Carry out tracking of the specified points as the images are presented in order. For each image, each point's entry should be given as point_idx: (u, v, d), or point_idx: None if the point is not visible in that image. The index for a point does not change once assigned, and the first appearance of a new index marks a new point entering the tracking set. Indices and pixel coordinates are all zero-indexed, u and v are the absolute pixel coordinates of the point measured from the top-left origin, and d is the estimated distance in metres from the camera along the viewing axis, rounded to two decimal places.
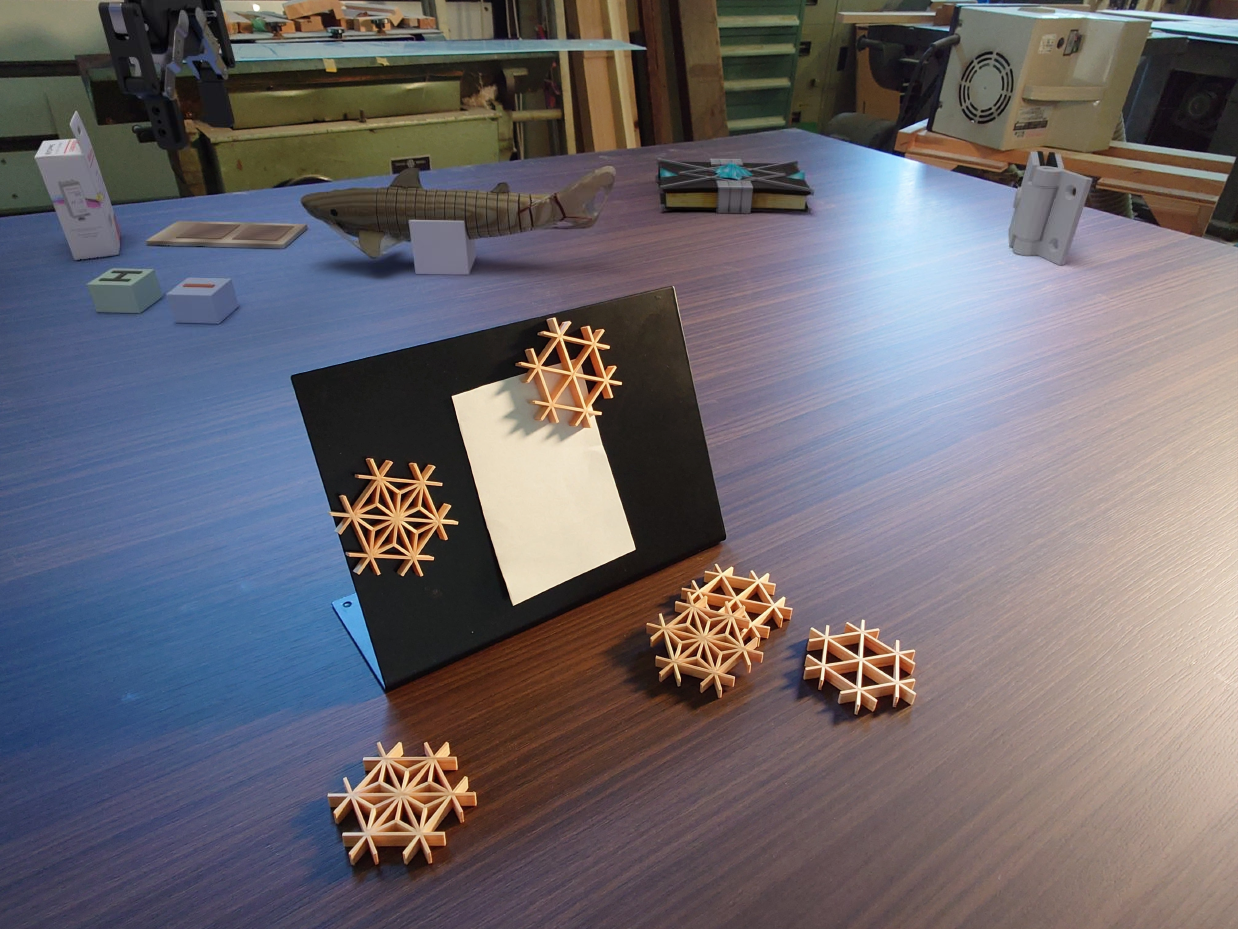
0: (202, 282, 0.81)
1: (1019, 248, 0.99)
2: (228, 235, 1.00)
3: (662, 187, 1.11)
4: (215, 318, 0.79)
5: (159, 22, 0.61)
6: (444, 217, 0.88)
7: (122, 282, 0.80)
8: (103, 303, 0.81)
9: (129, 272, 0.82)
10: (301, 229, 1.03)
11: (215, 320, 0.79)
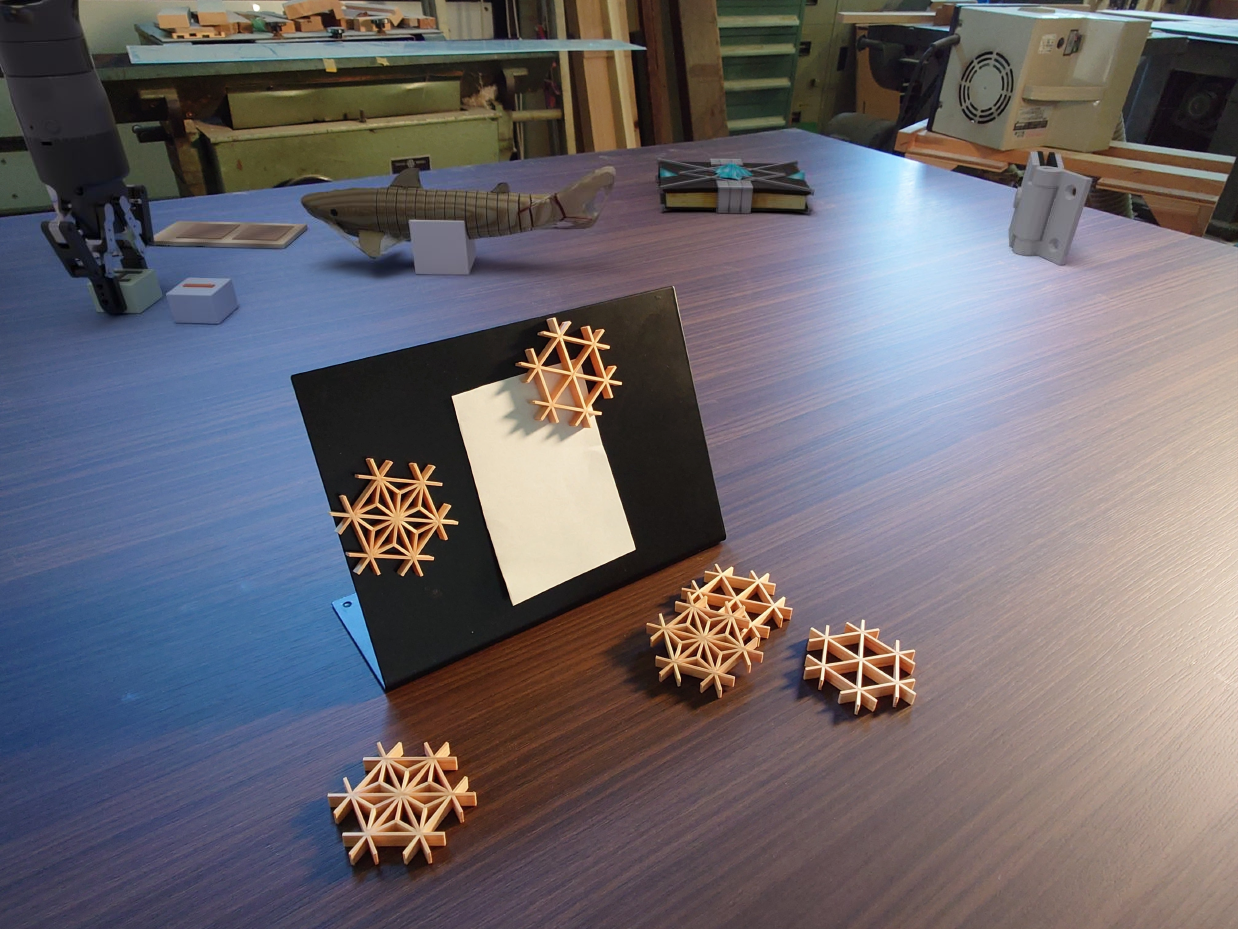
0: (202, 282, 0.81)
1: (1019, 248, 0.99)
2: (228, 235, 1.00)
3: (662, 187, 1.11)
4: (215, 318, 0.79)
5: (87, 217, 0.75)
6: (444, 217, 0.88)
7: (122, 282, 0.80)
8: None
9: (129, 272, 0.82)
10: (301, 229, 1.03)
11: (215, 320, 0.79)
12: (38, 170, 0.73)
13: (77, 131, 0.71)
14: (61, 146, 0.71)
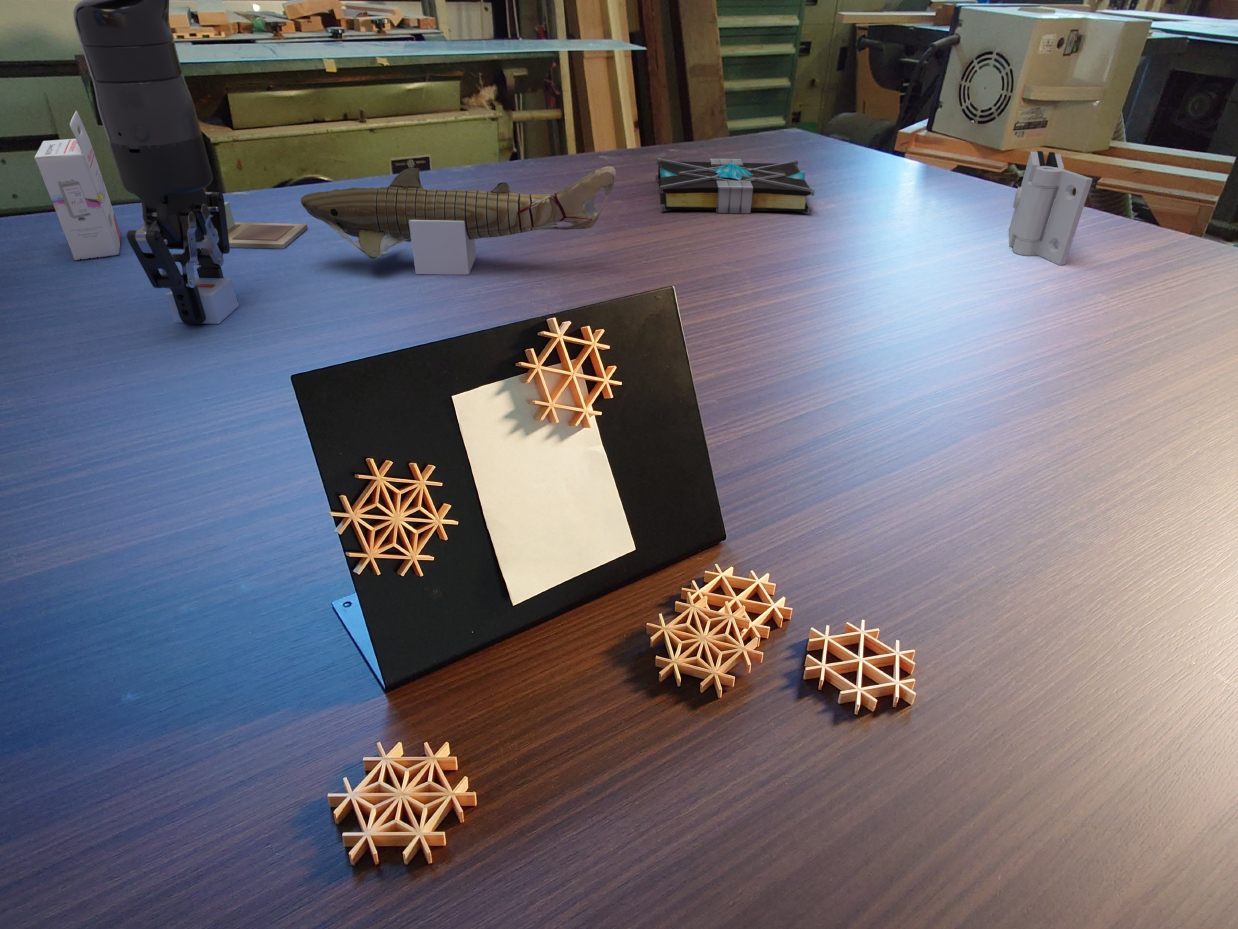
0: (202, 281, 0.81)
1: (1019, 248, 0.99)
2: (228, 235, 1.00)
3: (662, 187, 1.11)
4: (215, 318, 0.79)
5: (172, 225, 0.73)
6: (444, 217, 0.88)
7: None
8: None
9: None
10: (301, 229, 1.03)
11: (215, 320, 0.79)
12: (123, 178, 0.71)
13: (166, 138, 0.69)
14: (149, 153, 0.69)
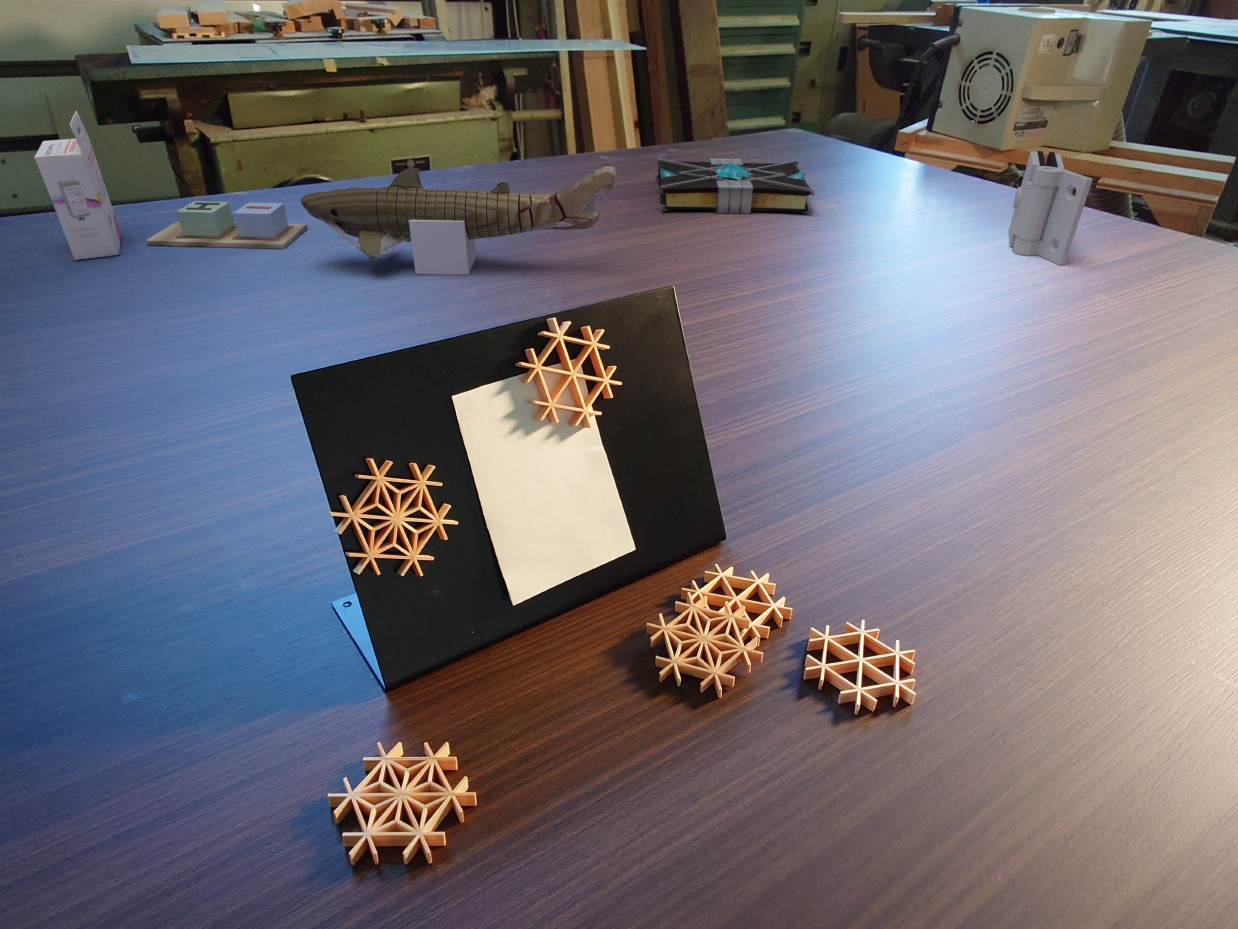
0: (260, 205, 1.00)
1: (1019, 248, 0.99)
2: (228, 235, 1.00)
3: (662, 187, 1.11)
4: (272, 233, 0.99)
5: None
6: (444, 217, 0.88)
7: (205, 210, 0.98)
8: (189, 228, 0.99)
9: (209, 203, 1.00)
10: (301, 229, 1.03)
11: (272, 235, 0.99)
12: None
13: None
14: None
